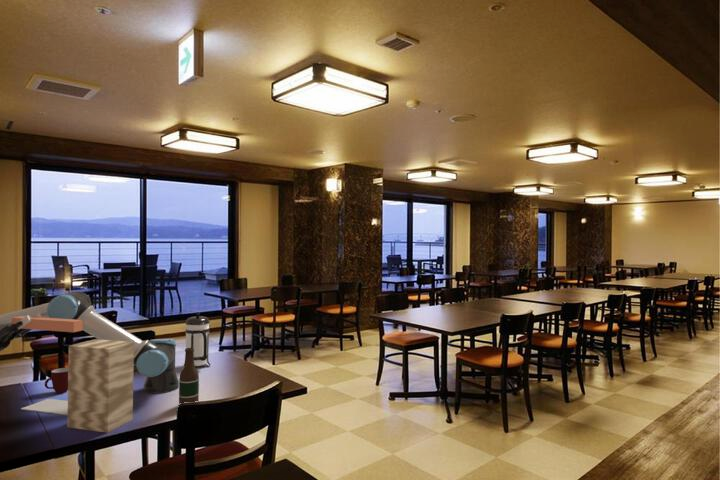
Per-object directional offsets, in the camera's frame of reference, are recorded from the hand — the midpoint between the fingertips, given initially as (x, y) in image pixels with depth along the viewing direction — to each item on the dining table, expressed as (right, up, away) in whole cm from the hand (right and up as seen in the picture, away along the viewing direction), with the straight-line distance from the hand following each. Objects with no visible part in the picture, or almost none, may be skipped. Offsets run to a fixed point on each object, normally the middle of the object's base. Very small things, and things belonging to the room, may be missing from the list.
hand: (34, 317), depth 175 cm
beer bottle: (+56, -39, +12) cm, 70 cm away
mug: (-8, -39, +25) cm, 47 cm away
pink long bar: (+6, -4, -1) cm, 7 cm away
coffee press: (+39, -40, +70) cm, 90 cm away
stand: (+31, -39, -8) cm, 50 cm away
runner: (+6, -39, +7) cm, 40 cm away
